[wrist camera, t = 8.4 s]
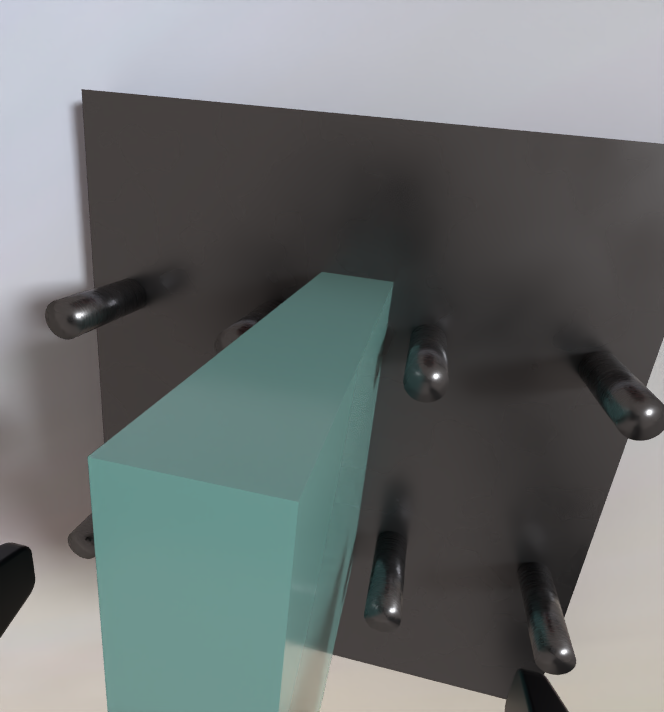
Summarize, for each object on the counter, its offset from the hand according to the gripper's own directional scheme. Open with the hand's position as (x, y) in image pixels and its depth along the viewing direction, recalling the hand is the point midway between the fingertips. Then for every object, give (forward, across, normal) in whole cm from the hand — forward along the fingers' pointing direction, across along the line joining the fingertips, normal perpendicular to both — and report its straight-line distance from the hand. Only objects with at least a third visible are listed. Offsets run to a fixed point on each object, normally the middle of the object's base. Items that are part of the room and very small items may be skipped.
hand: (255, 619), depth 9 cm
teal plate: (+7, 0, 0) cm, 7 cm away
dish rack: (+8, 0, 0) cm, 8 cm away
